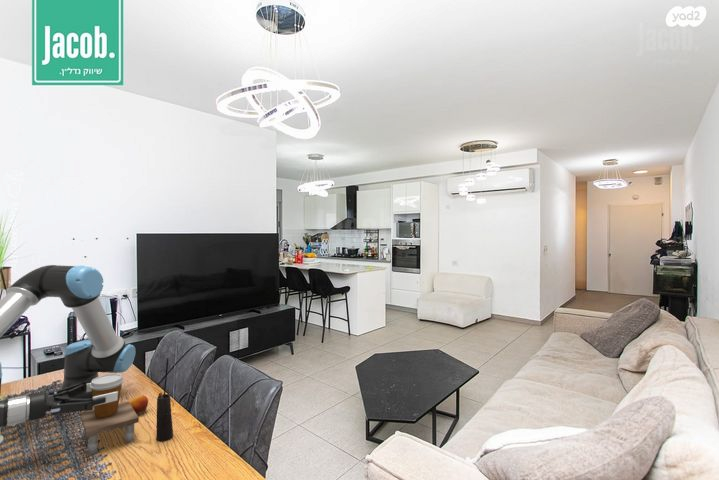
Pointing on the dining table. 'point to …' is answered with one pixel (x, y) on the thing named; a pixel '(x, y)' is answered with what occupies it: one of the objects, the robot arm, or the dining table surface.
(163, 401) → the butter churn
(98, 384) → the disposable coffee cup
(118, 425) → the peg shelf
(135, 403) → the fruit
